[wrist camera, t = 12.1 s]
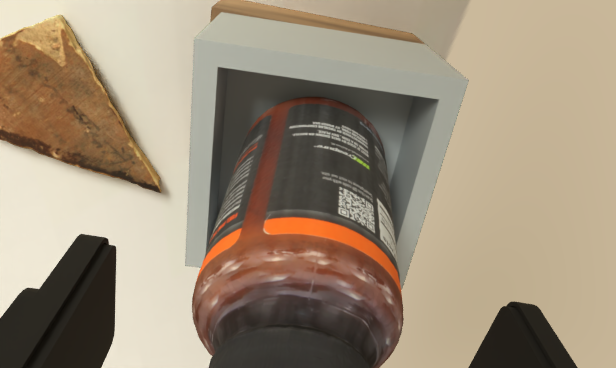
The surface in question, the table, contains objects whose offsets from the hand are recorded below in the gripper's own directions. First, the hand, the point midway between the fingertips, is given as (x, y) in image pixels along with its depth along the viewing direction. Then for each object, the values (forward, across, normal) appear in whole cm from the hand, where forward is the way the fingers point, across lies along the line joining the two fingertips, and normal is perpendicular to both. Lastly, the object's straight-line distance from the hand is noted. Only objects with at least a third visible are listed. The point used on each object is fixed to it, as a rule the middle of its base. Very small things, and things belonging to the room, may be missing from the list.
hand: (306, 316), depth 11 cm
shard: (+18, +12, +2) cm, 22 cm away
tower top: (+13, 0, 0) cm, 13 cm away
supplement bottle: (+10, 0, 0) cm, 10 cm away
